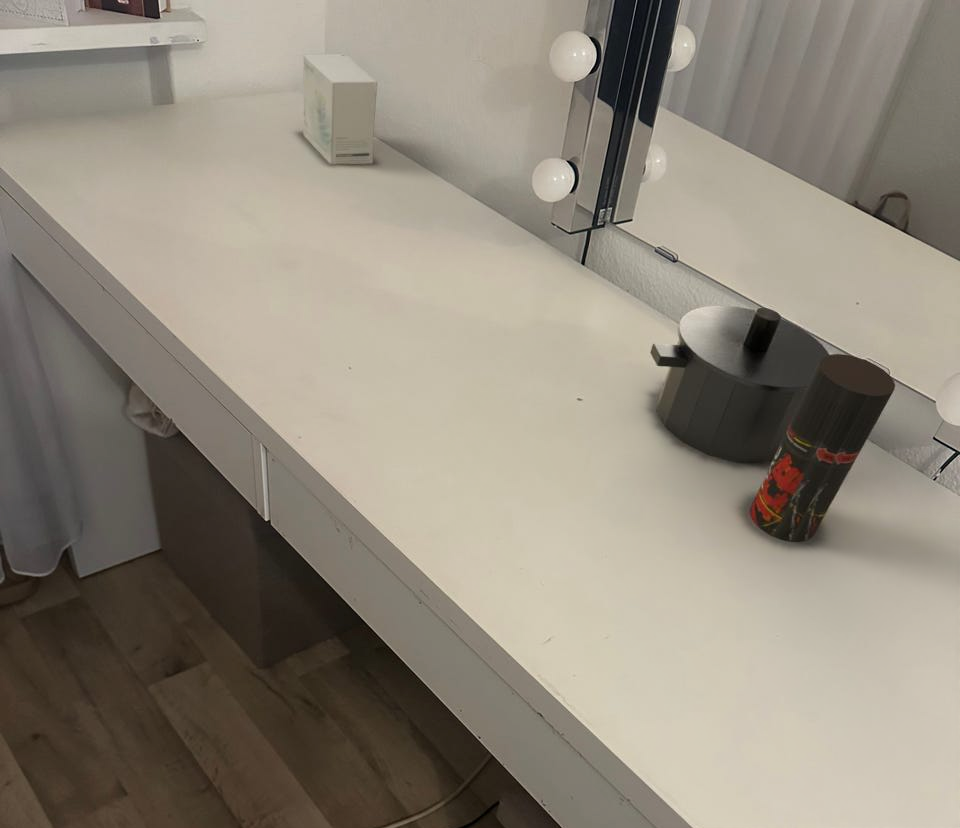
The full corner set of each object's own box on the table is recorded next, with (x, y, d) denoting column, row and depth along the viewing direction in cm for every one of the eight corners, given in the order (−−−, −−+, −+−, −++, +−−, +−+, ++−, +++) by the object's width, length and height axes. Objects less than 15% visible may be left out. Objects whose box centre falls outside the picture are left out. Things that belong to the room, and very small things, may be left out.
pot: (615, 384, 93) (638, 305, 87) (782, 393, 97) (815, 319, 91) (652, 464, 84) (681, 383, 78) (835, 471, 88) (876, 394, 82)
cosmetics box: (300, 138, 125) (301, 51, 118) (344, 138, 128) (347, 53, 120) (328, 169, 119) (332, 79, 112) (373, 168, 122) (379, 80, 115)
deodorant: (820, 550, 79) (905, 400, 68) (754, 542, 78) (830, 389, 67) (804, 508, 83) (882, 360, 72) (741, 499, 82) (811, 349, 71)
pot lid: (656, 310, 88) (669, 269, 85) (791, 321, 91) (808, 282, 88) (704, 394, 78) (721, 351, 75) (854, 402, 81) (875, 361, 78)
